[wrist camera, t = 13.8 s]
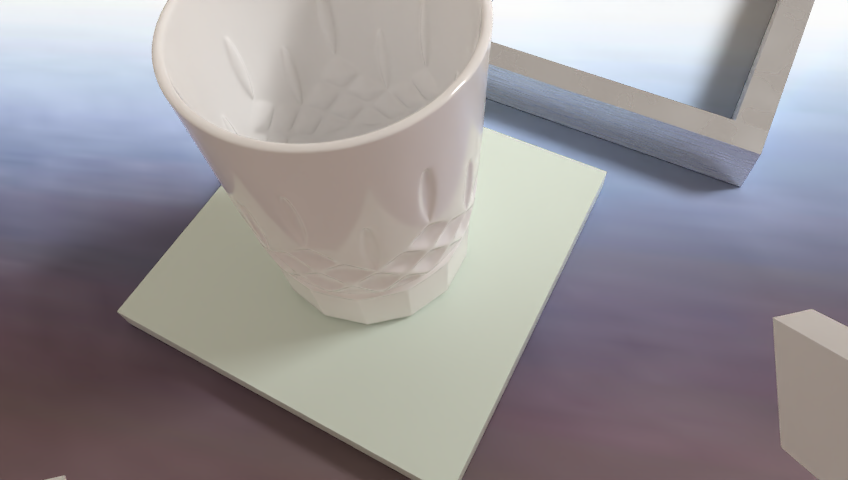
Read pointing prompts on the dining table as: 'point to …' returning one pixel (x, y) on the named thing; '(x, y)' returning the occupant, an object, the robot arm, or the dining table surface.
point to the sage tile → (389, 340)
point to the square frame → (659, 103)
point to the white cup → (339, 135)
